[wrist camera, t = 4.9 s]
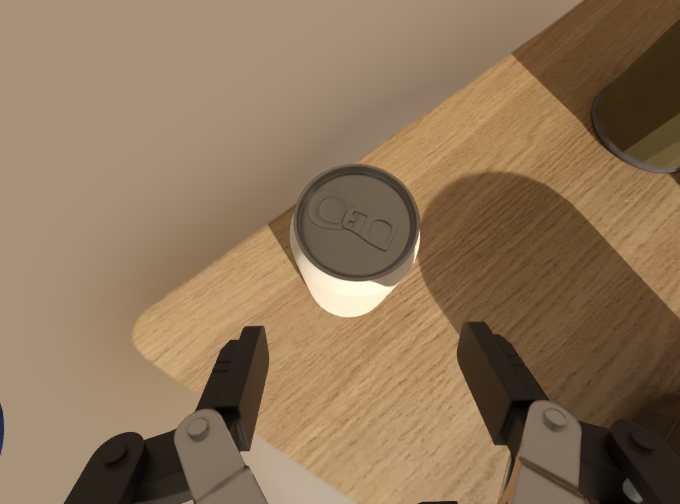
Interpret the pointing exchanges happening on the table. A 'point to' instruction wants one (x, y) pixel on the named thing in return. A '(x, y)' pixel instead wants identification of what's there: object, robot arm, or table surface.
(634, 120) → the canister
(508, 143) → the table surface
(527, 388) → the robot arm
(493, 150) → the table surface
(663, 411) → the bowl
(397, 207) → the can
